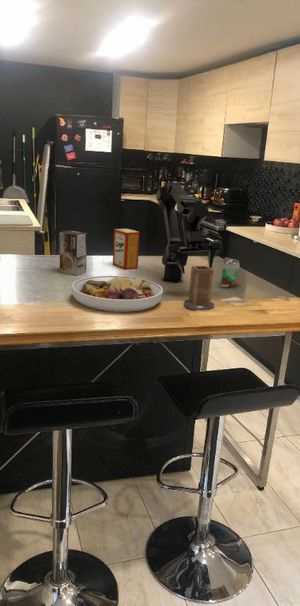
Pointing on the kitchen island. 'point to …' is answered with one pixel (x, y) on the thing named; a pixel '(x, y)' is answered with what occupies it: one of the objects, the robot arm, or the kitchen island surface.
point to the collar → (200, 285)
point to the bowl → (117, 293)
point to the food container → (229, 272)
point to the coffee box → (73, 252)
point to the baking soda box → (126, 249)
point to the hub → (191, 307)
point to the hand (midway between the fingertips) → (197, 272)
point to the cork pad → (236, 301)
